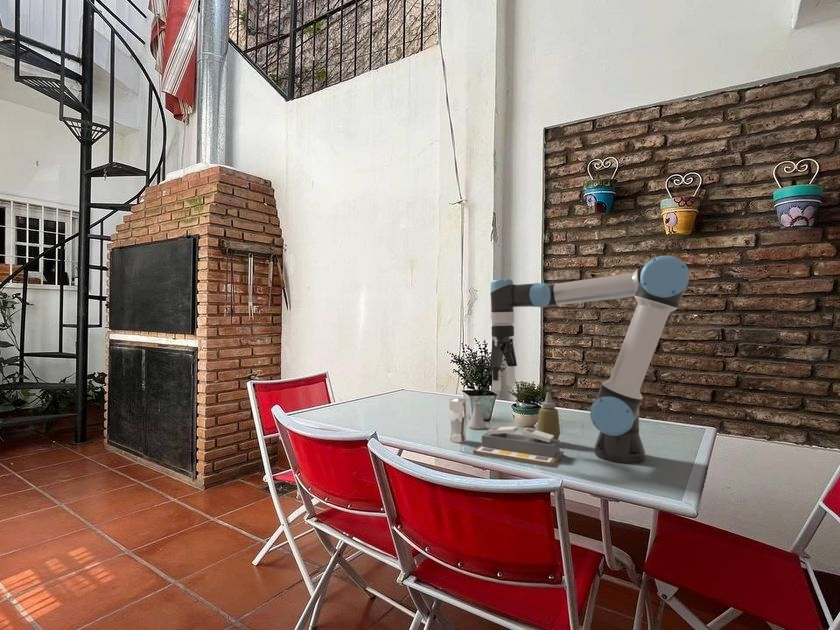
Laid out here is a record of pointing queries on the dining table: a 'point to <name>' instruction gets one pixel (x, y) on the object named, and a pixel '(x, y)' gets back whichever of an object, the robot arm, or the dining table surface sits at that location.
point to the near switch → (538, 434)
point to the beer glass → (458, 419)
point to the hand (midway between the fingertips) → (504, 387)
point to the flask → (477, 418)
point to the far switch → (503, 430)
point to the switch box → (520, 448)
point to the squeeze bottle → (549, 418)
